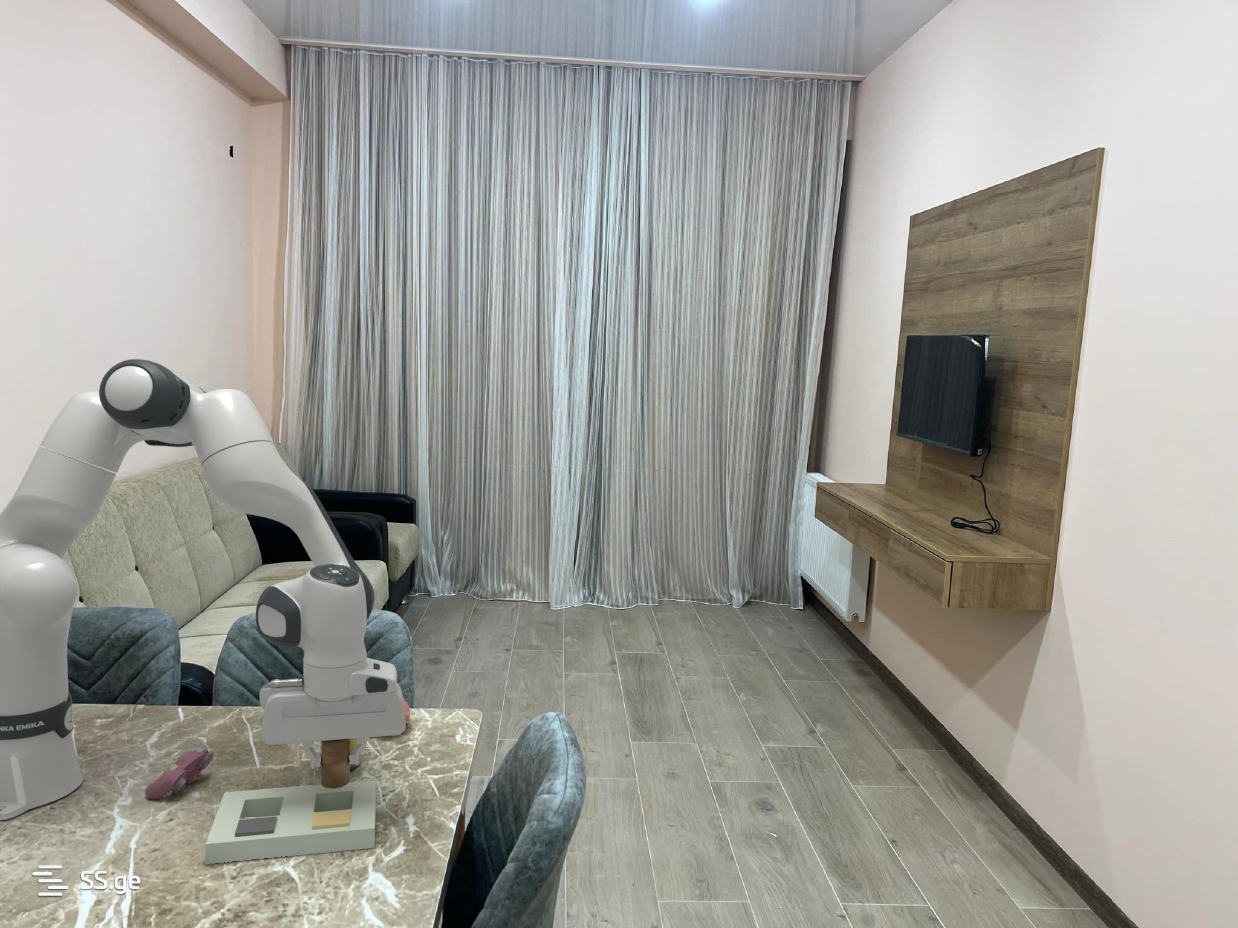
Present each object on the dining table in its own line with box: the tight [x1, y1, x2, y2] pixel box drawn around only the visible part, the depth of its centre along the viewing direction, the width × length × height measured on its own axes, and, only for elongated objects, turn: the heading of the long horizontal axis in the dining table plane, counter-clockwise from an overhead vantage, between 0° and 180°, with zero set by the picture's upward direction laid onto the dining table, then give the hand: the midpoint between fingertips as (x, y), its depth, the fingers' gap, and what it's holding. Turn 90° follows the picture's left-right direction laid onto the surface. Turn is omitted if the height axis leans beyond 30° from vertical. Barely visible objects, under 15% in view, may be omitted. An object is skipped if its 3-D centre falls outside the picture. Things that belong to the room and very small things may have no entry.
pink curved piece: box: [145, 746, 214, 800], centre depth 136 cm, size 10×5×7 cm, turn 169°
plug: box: [320, 739, 351, 789], centre depth 129 cm, size 4×4×7 cm
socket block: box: [204, 779, 377, 866], centre depth 126 cm, size 22×14×4 cm, turn 105°
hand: (335, 765), depth 128 cm, fingers closed on plug, 4 cm apart
